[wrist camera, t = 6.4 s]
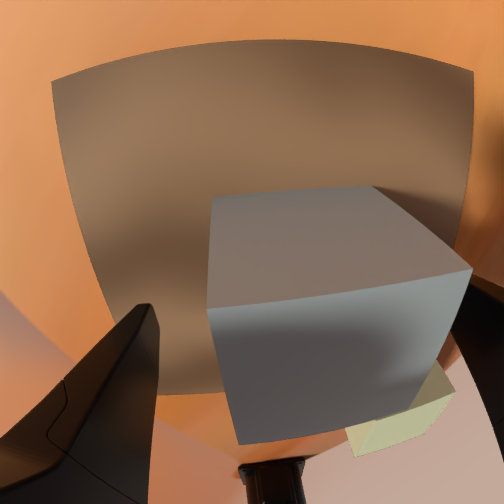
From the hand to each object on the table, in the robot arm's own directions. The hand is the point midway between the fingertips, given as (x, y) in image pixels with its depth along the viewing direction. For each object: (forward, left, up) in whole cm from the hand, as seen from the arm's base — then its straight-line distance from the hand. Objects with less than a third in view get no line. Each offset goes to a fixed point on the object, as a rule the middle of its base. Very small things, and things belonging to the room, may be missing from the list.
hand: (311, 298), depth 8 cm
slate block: (0, 0, -2) cm, 2 cm away
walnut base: (0, 0, -4) cm, 4 cm away
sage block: (-10, -6, -4) cm, 12 cm away
